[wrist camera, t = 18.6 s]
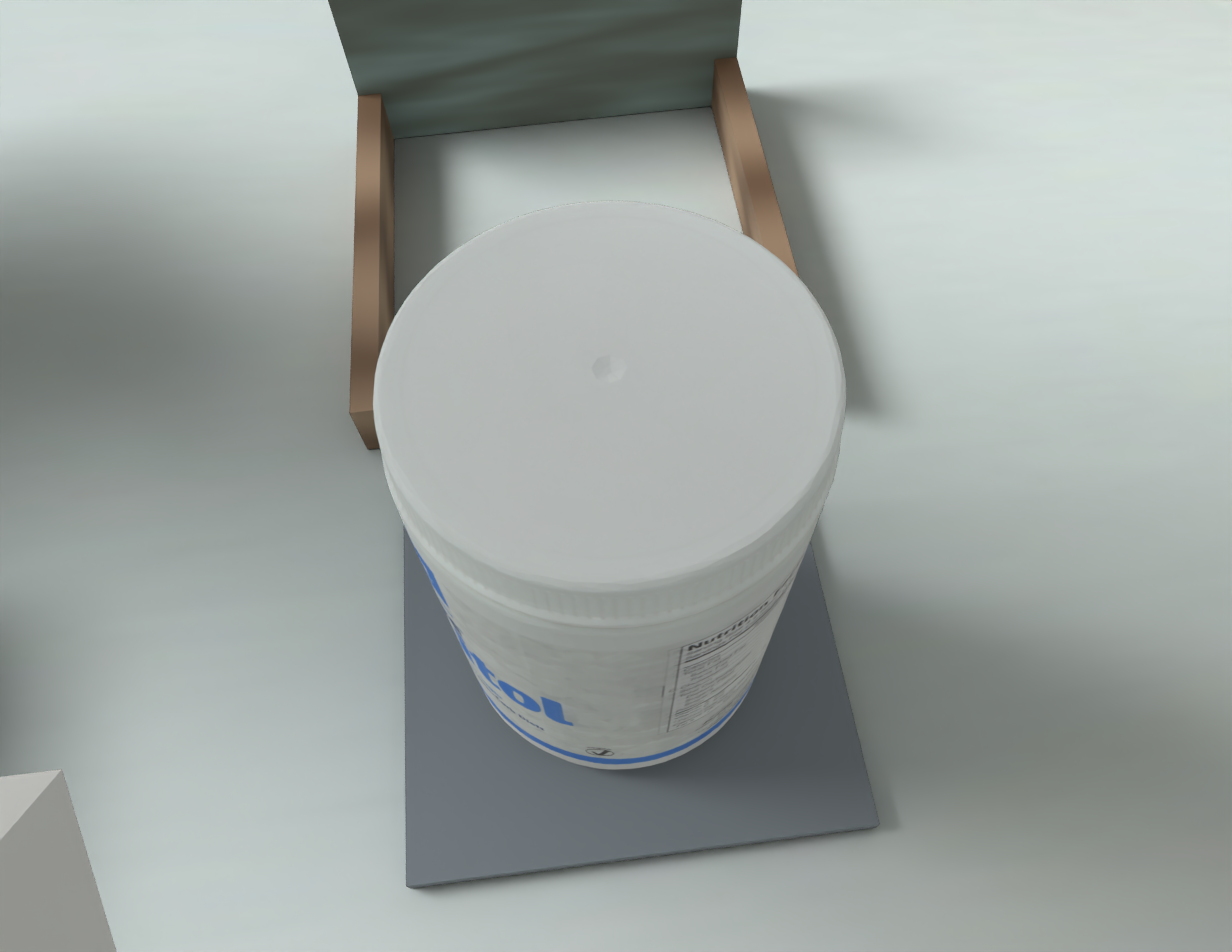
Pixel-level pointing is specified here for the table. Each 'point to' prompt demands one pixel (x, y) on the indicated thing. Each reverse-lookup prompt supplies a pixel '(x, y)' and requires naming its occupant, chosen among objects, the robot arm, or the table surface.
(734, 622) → the supplement tub
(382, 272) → the bracket
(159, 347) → the table surface
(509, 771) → the mat
